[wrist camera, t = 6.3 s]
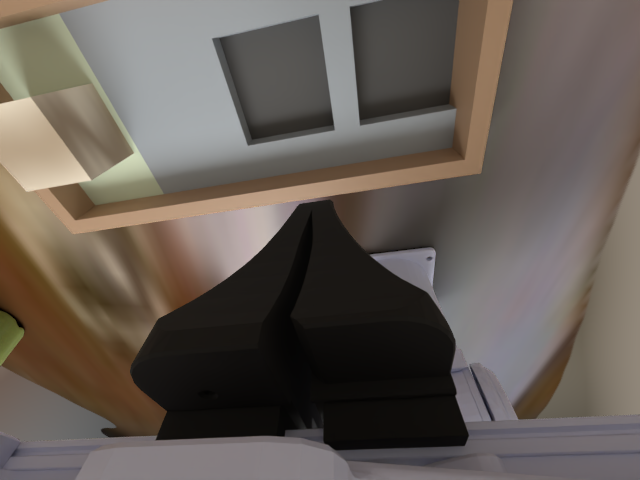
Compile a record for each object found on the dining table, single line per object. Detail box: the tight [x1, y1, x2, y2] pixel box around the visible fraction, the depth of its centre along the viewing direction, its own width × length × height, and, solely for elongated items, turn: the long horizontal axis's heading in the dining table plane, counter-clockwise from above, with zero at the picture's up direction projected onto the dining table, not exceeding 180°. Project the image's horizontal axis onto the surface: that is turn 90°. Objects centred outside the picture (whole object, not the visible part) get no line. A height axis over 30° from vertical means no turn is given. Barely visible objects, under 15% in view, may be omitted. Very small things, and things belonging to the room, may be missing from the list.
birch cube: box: [0, 83, 134, 192], centre depth 15 cm, size 4×4×4 cm
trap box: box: [0, 0, 513, 234], centre depth 15 cm, size 12×27×4 cm, turn 100°
